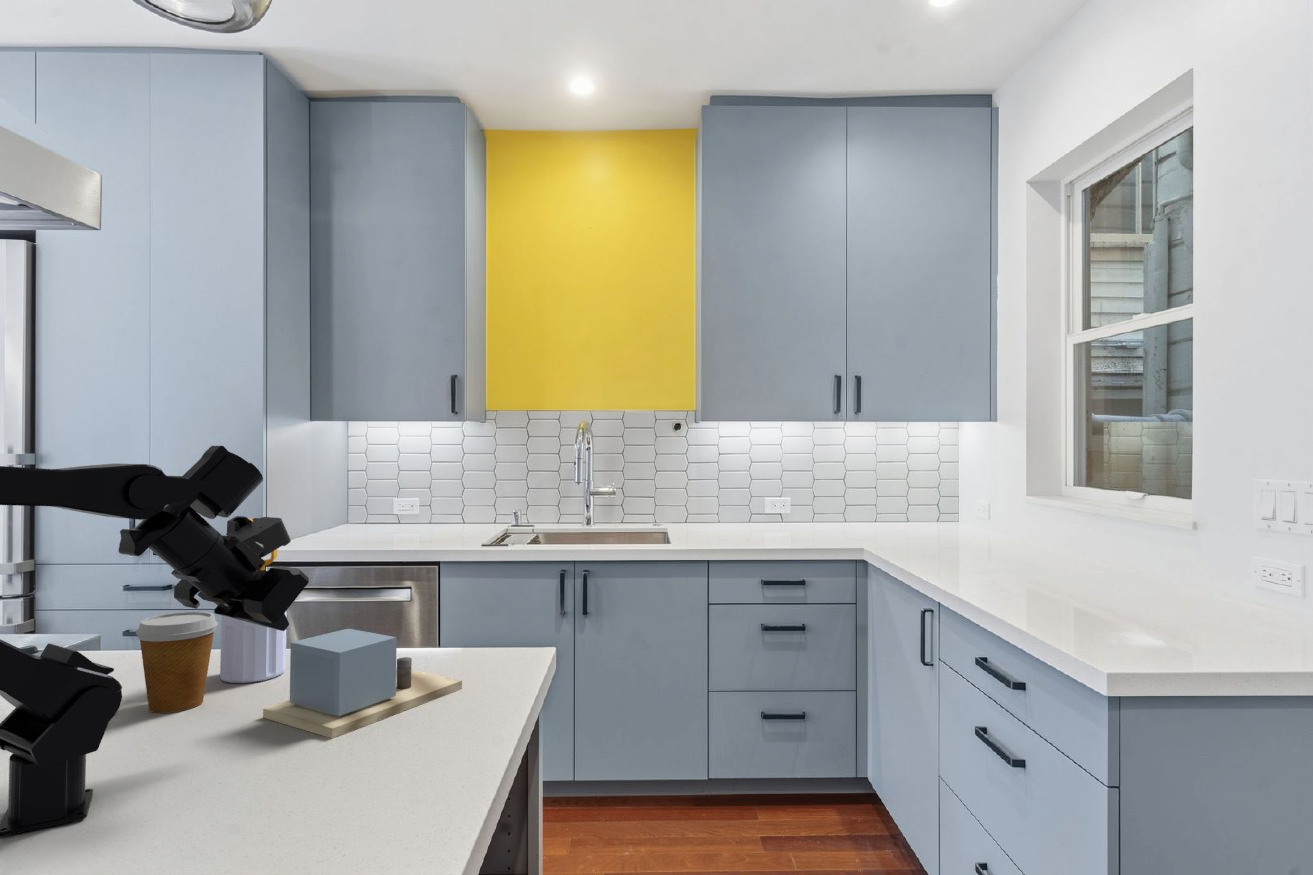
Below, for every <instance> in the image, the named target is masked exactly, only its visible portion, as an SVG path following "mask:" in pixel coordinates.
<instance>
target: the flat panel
mask: <svg viewBox="0 0 1313 875" xmlns="http://www.w3.org/2000/svg"><path fill="white" fill-rule="evenodd" d="M412 665H413V664H412V657H407V656H406V657H405V656H404V657H399V658H396V696H394V697H391V698H388V699H386V700H383V701H380V702H377V703H374V704H372V705H369V706H366V707H363V708H360V709H358V710H355V711H352V712H349V713H346V714H344V715H341V716H337V715H333V714H329V713H326V712H322V711H318V710H315V709H311V708H307V707H304V706H300V705H297V704H293V703H290V699H288V700H286V701H283V702H280V703H276V704H273V705H270V706H267V707H264V708H262V718H263V719H266V720H269V721H273V722H276V723H280V724H283V725H286V726H289V727H293V728H295V729H299V730H301V731H302V730H303V731H307V732H310V733H312V734H317V735H320V736H324V737H327V738H329V739H335V738H337V737H340V736H342V735H346V734H348V733H349V732H353V731H356V730H359V729H360V728H363V727H366V726H369V725H371V724H374V723H377V722H379V721H381V720H384V719H387V718H389V717H392V716H395V715H398V714H400V713H402V712H405V711H408V710H410V709H412V708H415V707H418V706H420V705H421V706H422V705H423V704H426V703H428V702H431V701H434V700H437V699H438V698H442V697H443V696H447V695H449V694H451V693H454V692H456V691H459V690H462V689H463V680H462V679H457V678H451V677H447V676H443V675H437V674H434V673H429V672H423V671H419V670H414V669H412Z"/></svg>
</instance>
